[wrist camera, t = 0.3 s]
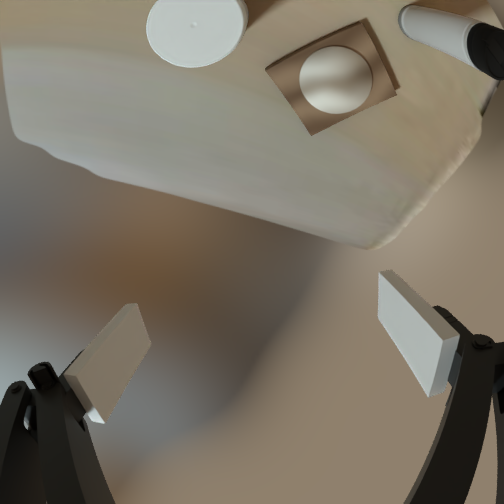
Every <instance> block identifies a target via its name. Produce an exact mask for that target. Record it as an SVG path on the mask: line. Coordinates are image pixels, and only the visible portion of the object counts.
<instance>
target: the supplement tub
mask: <svg viewBox="0 0 504 504" xmlns="http://www.w3.org/2000/svg"><path fill="white" fill-rule="evenodd" d="M248 17H249V15H248V9H247V6H246V4H245V2H244V1H243V0H157V1H156V3H155V4H154V6H153V7H152V9H151V11H150V13H149V15H148V19H147V24H146V31H147V37H148V40H149V43H150V45H151V47H152V48H153V50H154V51H155V52H156V53H157V54H158V55H159V56H160V57H161V58H163V59H164V60H166V61H167V62H169V63H172V64H174V65H177V66H182V67H202V66H207V65H210V64H213V63H215V62H217V61H219V60H221V59H223V58H224V57H226V56H227V55H228V54H230V53H231V52H232V51H233V50H234V49H235V48H236V47H237V46H238V44H239V43H240V41H241V40H242V38H243V36H244V33H245V30H246V27H247V23H248Z"/></svg>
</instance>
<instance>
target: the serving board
mask: <svg viewBox="0 0 504 504" xmlns="http://www.w3.org/2000/svg"><path fill="white" fill-rule="evenodd" d="M265 71H266V72H267V73H268V75H269V76H270V77H271V79H272V80H273V81H274V83H275V84H276V85H277V87H278V88H279V89H280V91H281V92H282V94H283V95H284V96H285V98H286V99H287V101H288V102H289V103H290V105H291V106H292V108H293V109H294V111H295V112H296V114H297V115H298V116H299V118H300V119H301V121H302V122H303V124H304V125H305V127H306V128H307V130H308V132H309V133H310V135H311V136H312V135H314V134H316V133H318V132H320V131H322V130H324V129H326V128H328V127H330V126H332V125H334V124H336V123H338V122H340V121H342V120H344V119H346V118H348V117H350V116H352V115H354V114H356V113H358V112H361V111H363V110H365V109H367V108H369V107H371V106H373V105H376V104H378V103H380V102H382V101H384V100H387V99H389V98H391V97H394V96H396V95H397V94H396V92H395V89H394V87H393V84H392V82H391V80H390V77H389V75H388V73H387V71H386V69H385V66H384V64H383V62H382V60H381V58H380V56H379V54H378V52H377V50H376V48H375V46H374V44H373V42H372V40H371V38H370V36H369V34H368V33H367V31H366V29H365V27H364V25H363V24H362V23H360V22H358V23H355V24H353V25H350V26H348V27H346V28H343V29H341V30H339V31H337V32H334V33H332V34H330V35H328V36H326V37H324V38H321V39H319V40H317V41H315V42H313V43H311V44H309V45H307V46H305V47H303V48H301V49H299V50H297V51H296V52H294V53H292V54H290V55H288V56H286V57H284V58H283V59H281V60H279V61H277V62H276V63H274V64H272V65H270V66H269V67H267V68H265Z"/></svg>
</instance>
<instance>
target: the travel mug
mask: <svg viewBox="0 0 504 504" xmlns="http://www.w3.org/2000/svg"><path fill="white" fill-rule="evenodd" d="M398 21H399V25H400V28H401V30H402V31H403V33H404V34H405V35H406V36H407V37H409V38H411V39H413V40H416V41H418V42H421V43H423V44H426V45H428V46H430V47H433V48H435V49H437V50H440V51H442V52H444V53H446V54H448V55H451V56H453V57H455V58H457V59H459V60H461V61H463V62H465V63H467V64H468V65H470V66H472V67H474V68H476V69H478V70H479V71H481V72H484V73H486V74H487V75H489V76H491V77H492V78H494V79H496V80H504V30H502V29H500V28H497V27H494V26H491V25H489V24H487V23H484V22H481V21H478V20H475V19H472V18H469V17H465V16H462V15H458V14H454V13H450V12H446V11H442V10H437V9H433V8H428V7H422V6H417V5H408V6H405V7H404V8H403V9H402V10H401V11H400V13H399V17H398Z"/></svg>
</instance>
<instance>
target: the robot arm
mask: <svg viewBox="0 0 504 504" xmlns="http://www.w3.org/2000/svg"><path fill="white" fill-rule="evenodd" d="M378 297H379V298H378V302H379V303H378V319H379V320H380V322H381V323H382V325H383V326H384V327H385V329H386V331H387V332H388V334H389V335H390V337H391V338H392V340H393V341H394V343H395V344H396V346H397V347H398V349H399V351H400V352H401V354H402V355H403V357H404V359H405V360H406V362H407V363H408V365H409V366H410V368H411V370H412V371H413V373H414V374H415V376H416V378H417V380H418V381H419V383H420V385H421V386H422V388H423V390H424V391H425V393H426V395H427V396H428V397H431V396H434V395H437V394H439V393H442V392H444V391H445V388H446V385H447V381H448V382H449V383H450V384H451V386H452V389H451V392H450V395H449V398H448V400H447V403H446V408H445V411H444V414H443V417H442V420H441V423H440V426H439V429H438V431H437V434H436V436H435V440H434V441H433V444H432V447H431V449H430V451H429V454H428V456H427V458H426V460H425V463H424V465H423V467H422V469H421V471H420V473H419V475H418V478H417V479H416V482H415V483H414V485H413V487H412V489H411V491H410V493H409V495H408V497H407V498H406V500H405V502H404V504H464V502H465V500H466V497H467V495H468V492H469V489H470V486H471V483H472V480H473V477H474V474H475V471H476V468H477V464H478V461H479V457H480V453H481V450H482V445H483V441H484V437H485V432H486V428H487V423H488V417H489V411H490V405H491V398H493V405H494V413H495V422H496V435H497V457H498V474H497V477H498V478H497V496H496V504H504V342H500V343H495V342H494V341H493V340H492V339H491V338H490V337H488V336H485V335H482V334H475V335H473V334H472V333H471V332H470V331H469V330H468V329H467V328H466V327H465V326H464V325H463V324H462V323H461V322H459V321H458V320H457V319H456V318H455V317H454V316H453V315H452V314H451V313H450V312H449V311H448V310H446V309H444V308H442V307H440V306H434V307H431V306H430V305H429V304H428V303H427V302H426V301H425V300H424V299H423V298H422V297H421V296H420V295H419V294H418V293H417V292H416V291H415V290H413V289H412V288H411V287H410V286H409V285H408V284H407V283H406V282H405V281H404V280H403V279H401V278H400V277H399V276H398V275H397V274H396V273H395V272H394V271H393V270H386V271H381V272H379V296H378ZM150 346H151V342H150V339H149V336H148V334H147V331H146V328H145V325H144V323H143V320H142V317H141V314H140V311H139V308H138V305H137V303H135V304H126V305H125V306H124V307H123V308H122V309H121V310H120V311H119V312H118V313H117V314H116V315H115V316H114V318H113V319H112V320H111V321H110V322H109V323H108V324H107V325H106V326H105V327H104V328H103V330H102V331H101V332H100V333H99V334H98V335H97V336H96V337H95V338H94V339H93V341H92V342H91V343H90V344H89V345H88V346H87V347H86V348H85V349H84V350H83V351H81V352H80V353H79V354H78V355H77V356H76V358H75V359H74V360H73V361H72V362H71V364H69V366H68V367H67V368H66V369H65V370H64V371H63V373H62V374H61V375H60V376H59V377H58V376H57V375H56V373H55V371H54V369H53V367H52V365H51V364H50V363H49V362H41V363H38V364H36V365H35V366H33V367H32V368H31V369H30V370H29V371H28V376H29V378H30V380H31V381H32V383H33V385H34V386H35V388H36V389H29V387H28V386H27V384H26V382H24V381H17V382H14V383H12V384H11V385H10V386H9V387H8V389H7V391H6V393H5V395H4V398H3V400H2V403H1V405H0V504H46V500H47V504H115V501H114V499H113V497H112V495H111V492H110V490H109V488H108V485H107V483H106V480H105V478H104V475H103V472H102V470H101V467H100V464H99V461H98V459H97V456H96V453H95V450H94V446H93V443H92V440H91V437H90V434H89V430H88V426H87V423H86V421H85V420H84V418H83V416H84V415H85V413H87V414H88V416H89V417H90V419H91V420H92V421H94V422H99V423H104V424H105V423H106V421H107V419H108V418H109V416H110V414H111V412H112V411H113V409H114V407H115V405H116V403H117V402H118V400H119V398H120V397H121V395H122V393H123V391H124V390H125V388H126V386H127V385H128V383H129V381H130V379H131V378H132V376H133V374H134V373H135V371H136V369H137V368H138V366H139V364H140V362H141V361H142V359H143V357H144V356H145V354H146V352H147V351H148V349H149V347H150ZM24 421H25V422H26V423H27V425H28V426H29V427H28V430H27V429H26V428H25V426H24Z"/></svg>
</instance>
